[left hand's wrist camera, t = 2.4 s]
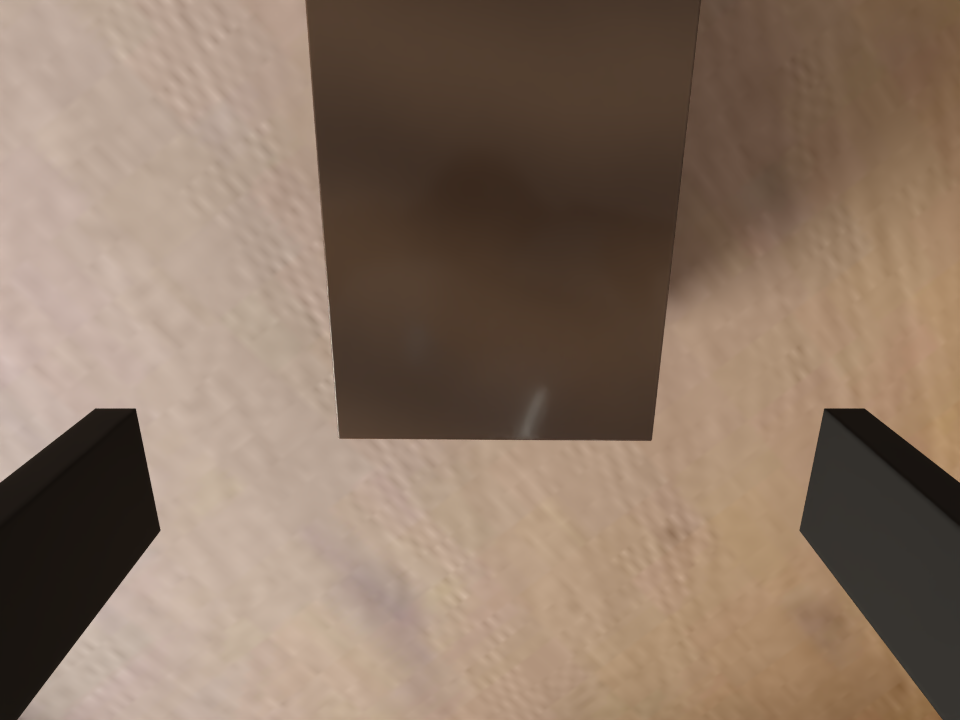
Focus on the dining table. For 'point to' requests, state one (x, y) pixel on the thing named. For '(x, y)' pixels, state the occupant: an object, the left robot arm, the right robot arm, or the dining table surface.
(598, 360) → the cabinet
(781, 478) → the dining table surface
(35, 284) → the dining table surface
